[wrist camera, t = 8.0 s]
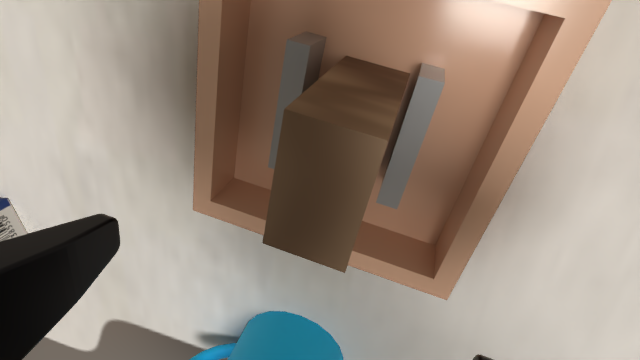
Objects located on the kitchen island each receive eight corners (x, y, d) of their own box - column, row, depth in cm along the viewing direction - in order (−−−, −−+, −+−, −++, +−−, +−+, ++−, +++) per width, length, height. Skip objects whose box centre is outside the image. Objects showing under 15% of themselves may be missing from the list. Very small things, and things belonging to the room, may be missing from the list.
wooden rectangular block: (410, 73, 17) (388, 140, 10) (378, 168, 20) (344, 272, 13) (346, 55, 17) (284, 109, 11) (323, 151, 20) (262, 243, 13)
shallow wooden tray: (581, -13, 15) (616, -9, 12) (446, 255, 22) (446, 300, 19) (245, -90, 16) (202, -103, 14) (224, 180, 24) (192, 210, 21)
